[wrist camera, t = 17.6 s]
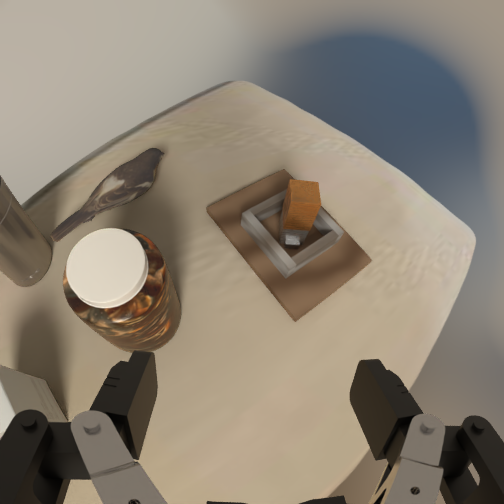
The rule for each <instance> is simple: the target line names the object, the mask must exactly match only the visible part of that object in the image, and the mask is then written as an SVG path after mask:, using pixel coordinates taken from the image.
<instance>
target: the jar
mask: <svg viewBox="0 0 504 504" xmlns="http://www.w3.org/2000/svg"><path fill="white" fill-rule="evenodd" d="M63 287H64V293H65V296H66V299H67V301H68V303H69V305H70V307H71V308H72V310H73V311H74V312H75V314H76V315H77V316H78V317H79V318H80V319H81V320H82V321H83V322H84V323H86V324H87V325H88V326H89V327H90V328H92V329H93V330H94V331H95V332H97V333H98V334H99V335H101V336H102V337H103V338H105V339H106V340H107V341H109V342H110V343H111V344H113V345H114V346H116V347H118V348H119V349H121V350H124V351H127V352H131V353H133V352H134V350H138V351H146V352H151V351H154V350H157V349H159V348H161V347H162V346H164V345H165V344H166V343H168V342H169V341H170V340H171V338H172V337H173V336H174V334H175V333H176V331H177V329H178V327H179V324H180V319H181V308H180V303H179V299H178V296H177V293H176V290H175V287H174V284H173V281H172V278H171V276H170V273H169V270H168V267H167V265H166V263H165V260H164V258H163V256H162V254H161V252H160V251H159V250H158V248H157V247H156V245H155V244H154V243H153V242H152V241H151V240H149V239H148V238H147V237H145V236H143V235H142V234H140V233H137V232H135V231H131V230H127V229H117V228H105V229H100V230H96V231H94V232H92V233H90V234H88V235H86V236H85V237H83V238H82V239H81V240H80V241H79V242H78V243H77V244H76V245H75V246H74V248H73V249H72V251H71V253H70V255H69V257H68V261H67V264H66V267H65V270H64V276H63Z"/></svg>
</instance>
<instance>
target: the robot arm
mask: <svg viewBox="0 0 504 504" xmlns="http://www.w3.org/2000/svg"><path fill="white" fill-rule="evenodd" d="M51 257H52V252H51V247H50V245H49V243H48V242H47V241H46V239H45V238H44V237H43V235H42V234H41V233H40V231H39V230H38V229H37V227H36V226H35V225H34V223H33V222H32V221H31V219H30V218H29V217H28V215H27V214H26V212H25V211H24V210H23V208H22V207H21V205H20V204H19V202H18V201H17V200H16V198H15V197H14V195H13V194H12V192H11V191H10V189H9V188H8V186H7V185H6V183H5V182H4V180H3V179H2V177H1V176H0V270H1V271H2V272H3V273H4V274H5V275H6V276H7V277H8V278H9V279H11V280H12V281H13V282H14V283H15V284H17V285H19V286H22V287H27V286H31V285H33V284H35V283H37V282H38V281H39V280H40V279H41V278H42V277H43V276H44V275H45V273H46V272H47V270H48V268H49V266H50V262H51ZM157 388H158V385H157V374H156V364H155V355H154V353H153V352H146V351H138V350H134V352H133V353H132V355H131V357H130V360H129V362H125V361H120V362H119V363H117V364H116V365H115V366H113V367H112V368H111V370H110V372H109V374H108V376H107V378H106V379H105V381H104V383H103V385H102V387H101V389H100V391H99V393H98V394H97V396H96V398H95V400H94V402H93V404H92V406H91V408H90V410H89V411H85V412H82V413H80V414H78V415H76V416H75V417H74V419H73V420H72V422H48V420H47V417H46V416H45V415H44V414H43V413H42V412H40V411H38V410H33V409H28V410H23V411H21V412H19V413H18V414H16V415H15V416H14V418H13V419H12V421H11V422H10V424H9V426H8V427H7V429H6V431H5V432H4V434H3V436H2V438H1V439H0V504H63V502H64V499H65V496H66V493H67V489H68V486H69V483H70V480H71V479H80V480H92V482H93V484H94V486H95V488H96V490H97V492H98V494H99V496H100V498H101V500H102V502H103V504H167V502H166V501H165V500H164V498H163V497H162V495H161V494H160V493H159V491H158V490H157V488H156V487H155V486H154V484H153V483H152V481H151V480H150V478H149V477H148V475H147V474H146V472H145V471H144V469H143V468H142V466H141V465H140V464H139V463H138V462H135V461H134V459H136V460H139V457H140V453H141V450H142V446H143V442H144V439H145V435H146V432H147V428H148V425H149V421H150V418H151V414H152V411H153V407H154V404H155V401H156V397H157ZM350 402H351V405H352V407H353V409H354V412H355V414H356V416H357V419H358V421H359V423H360V425H361V428H362V430H363V432H364V435H365V437H366V439H367V442H368V444H369V446H370V449H371V451H372V453H373V456H374V458H375V460H381V459H386V458H387V461H388V463H387V465H386V467H385V469H384V471H383V474H382V476H381V478H380V481H379V483H378V485H377V487H376V489H375V491H374V494H373V496H372V498H371V500H370V501H369V503H368V504H435V503H436V500H437V496H438V492H439V489H440V491H441V494H442V496H443V498H444V500H445V503H446V504H504V442H503V441H502V439H501V438H500V437H499V435H498V434H497V432H496V431H495V430H494V428H493V427H492V426H491V424H490V423H489V422H488V421H487V420H486V419H484V418H482V417H480V416H469V417H467V418H466V419H465V420H464V421H463V423H462V425H461V426H445V425H444V423H443V422H442V421H441V420H440V419H439V418H438V417H436V416H434V415H431V414H424V413H423V412H422V410H421V409H420V407H419V406H418V404H417V403H416V402H415V400H414V398H413V397H412V395H411V394H410V393H408V390H407V388H406V387H405V386H404V384H403V382H402V381H401V379H400V378H399V377H398V376H397V375H396V374H394V373H393V372H392V371H390V370H386V369H385V367H384V366H383V364H382V363H381V361H380V360H379V359H371V360H361V361H360V362H359V363H358V366H357V370H356V373H355V376H354V379H353V383H352V386H351V389H350ZM471 463H473V465H474V467H475V469H476V471H477V472H478V474H479V477H480V483H479V485H477V484H476V482H475V480H474V478H473V476H472V474H471V473H470V471H469V469H468V467H469V465H470V464H471ZM207 504H246V503H234V502H212V501H207ZM300 504H346V502H345V498H344V496H337V497H330V498H322V499H313V500H309V501H306V502H303V503H300Z"/></svg>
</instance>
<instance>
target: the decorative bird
mask: <svg viewBox="0 0 504 504" xmlns="http://www.w3.org/2000/svg"><path fill="white" fill-rule="evenodd" d="M163 155H164V153H163V152H161V151H160V150H159V149H156V148H151V149H148V150H146V151H145V152H143V153H141V154H140V155H139V156H137V157H136V158H134V159H133V160H131V161H129V162H127V163H125V164H123V165H121V166H119V167H118V168H116V169H115V170H114V171H113V172H112V173H110V174H109V175H108V176H107V177H106V178H105V179H104V180H103V181H102V182H101V183H100V184H99V185H98V186H97V188H96V189H95V190H94V191H93V193H92V194H91V196H90V197H89V199H88V201H87V202H86V203H85V204H84V206H83V207H82V208H81V209H80V210H78V211H77V212H76V213H74V214H73V215H71V216H70V217H69V218H67V219H66V220H65V221H63V222H62V223H61V224H60V225H59V226H58V227H57V228H56V229H55V230H54V231H53V232H52V234H51V236H50V237H51V238H52V239H53V241H56V242H58V241H60V240H61V239H62V238H63V237H64V236H66V235H67V234H68V233H70V232H71V231H72V230H73V229H75V228H76V227H77V226H78V225H80V224H81V223H85V222H87V221H90V220H91V221H92V219H93V218H94V217H95V215H96V214H98V213H101V212H103V211H106V210H111V209H112V208H115V207H118V206H121V205H123V204H126V203H128V202H130V201H132V200H134V199H135V198H137V197H138V196H140V195H141V194H143V193H145V192H146V191H147V190H148V189H149V188H150V186H151V185H152V183H153V181H154V178H155V172H156V168H157V166H158V164H159V162H160V160H161V159H162V156H163Z"/></svg>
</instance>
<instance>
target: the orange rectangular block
mask: <svg viewBox="0 0 504 504" xmlns="http://www.w3.org/2000/svg"><path fill="white" fill-rule="evenodd" d="M320 206H321V200H320V192H319V185H318V182H311V181H302V180H292V179H290V181H289V185H288V188H287V192H286V196H285V199H284V203H283V207H282V213H281V217H280V220H279V243H283V244H285V248H288V249H298V248H299V245H303V243H304V241H305V239H306V236H307V234H308V232H309V231H310V230H311V227H312V225H313V223H314V220H315V218H316V216H317V213H318V211H319V209H320Z"/></svg>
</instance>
